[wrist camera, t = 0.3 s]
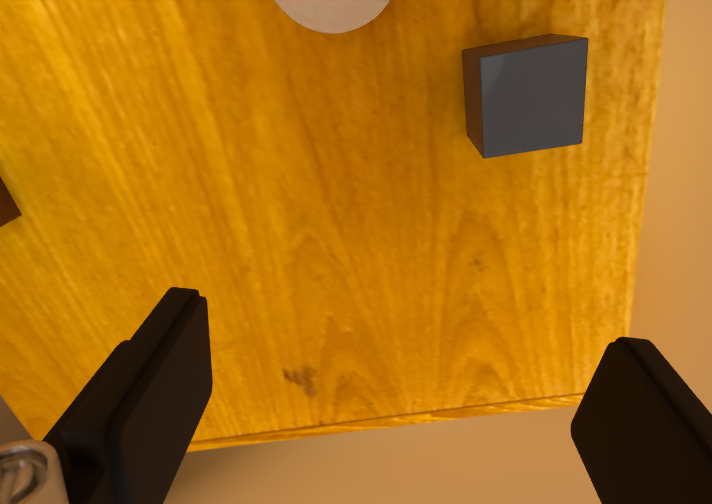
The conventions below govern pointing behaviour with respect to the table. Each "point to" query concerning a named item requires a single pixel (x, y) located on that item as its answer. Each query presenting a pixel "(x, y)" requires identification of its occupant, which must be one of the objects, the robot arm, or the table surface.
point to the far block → (7, 206)
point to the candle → (332, 13)
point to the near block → (525, 94)
